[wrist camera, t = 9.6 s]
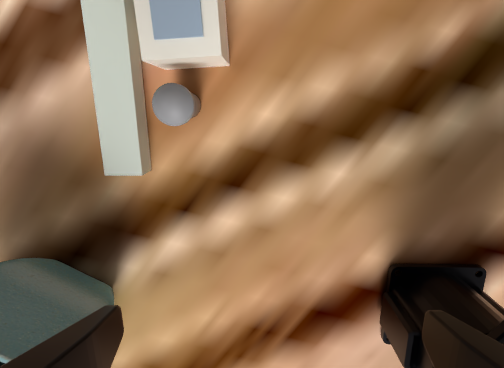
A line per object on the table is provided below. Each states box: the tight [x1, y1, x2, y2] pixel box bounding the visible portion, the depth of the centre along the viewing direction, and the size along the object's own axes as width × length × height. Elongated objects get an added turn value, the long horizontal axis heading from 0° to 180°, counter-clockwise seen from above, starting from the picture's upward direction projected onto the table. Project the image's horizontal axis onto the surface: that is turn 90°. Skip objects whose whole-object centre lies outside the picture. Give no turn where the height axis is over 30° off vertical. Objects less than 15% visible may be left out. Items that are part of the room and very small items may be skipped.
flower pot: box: [0, 258, 114, 366], centre depth 19 cm, size 9×9×9 cm
